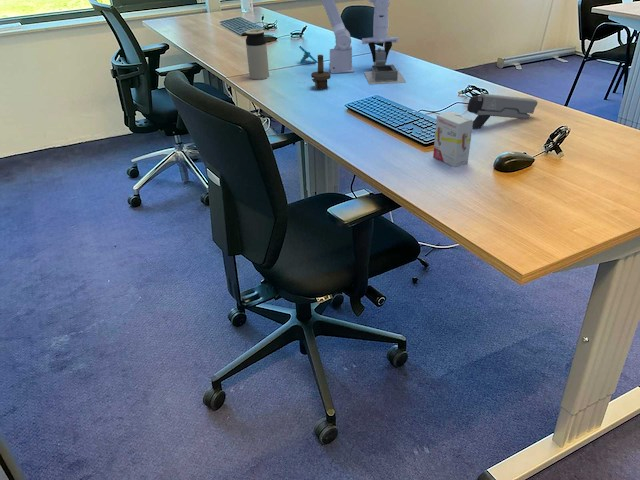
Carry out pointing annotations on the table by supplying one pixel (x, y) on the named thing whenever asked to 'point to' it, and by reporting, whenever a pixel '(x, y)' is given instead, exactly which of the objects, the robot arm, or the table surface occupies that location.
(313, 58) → the teal angled stand
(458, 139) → the ink box
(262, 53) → the travel mug
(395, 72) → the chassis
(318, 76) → the industrial component
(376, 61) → the servo
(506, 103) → the gun
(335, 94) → the table surface
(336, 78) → the table surface
